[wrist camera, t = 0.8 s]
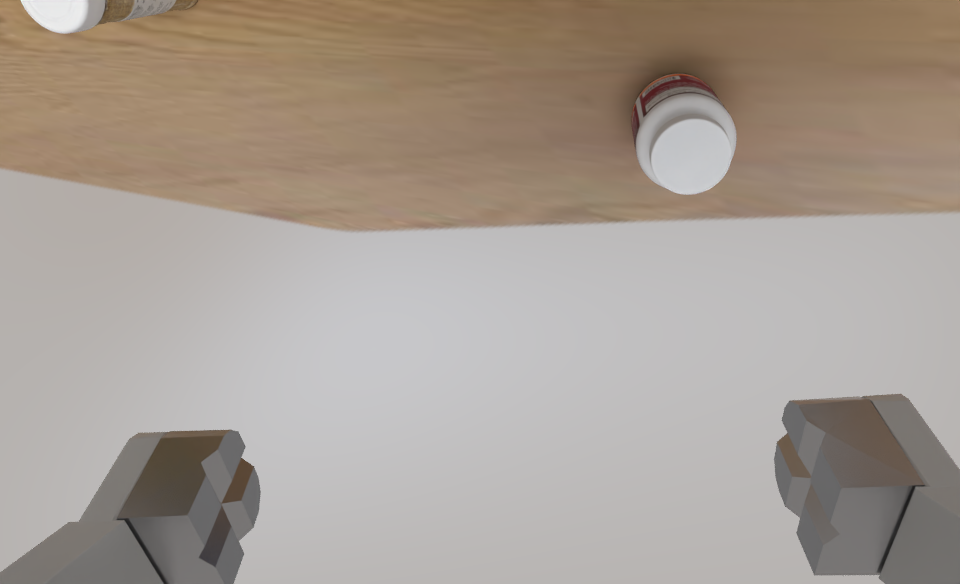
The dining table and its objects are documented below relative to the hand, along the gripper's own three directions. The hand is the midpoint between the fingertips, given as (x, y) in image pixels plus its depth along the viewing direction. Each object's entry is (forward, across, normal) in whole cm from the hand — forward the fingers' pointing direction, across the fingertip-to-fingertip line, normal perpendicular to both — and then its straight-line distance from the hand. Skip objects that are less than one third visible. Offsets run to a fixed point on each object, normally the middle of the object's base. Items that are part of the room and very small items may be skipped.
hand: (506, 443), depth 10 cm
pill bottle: (+42, -12, +11) cm, 45 cm away
